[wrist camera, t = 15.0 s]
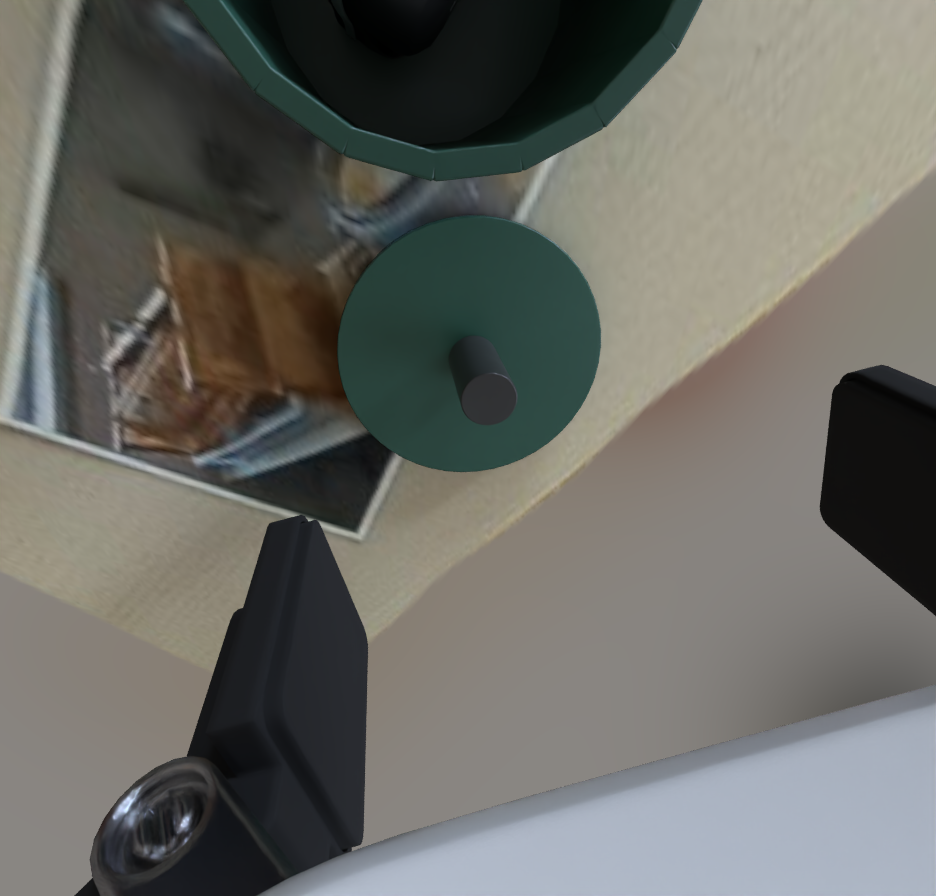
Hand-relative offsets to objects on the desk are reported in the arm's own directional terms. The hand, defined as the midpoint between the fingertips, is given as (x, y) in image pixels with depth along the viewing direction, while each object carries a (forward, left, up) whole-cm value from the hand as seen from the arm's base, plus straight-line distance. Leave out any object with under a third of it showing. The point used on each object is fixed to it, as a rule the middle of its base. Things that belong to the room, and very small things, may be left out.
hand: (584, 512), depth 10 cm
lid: (+3, +3, -21) cm, 22 cm away
